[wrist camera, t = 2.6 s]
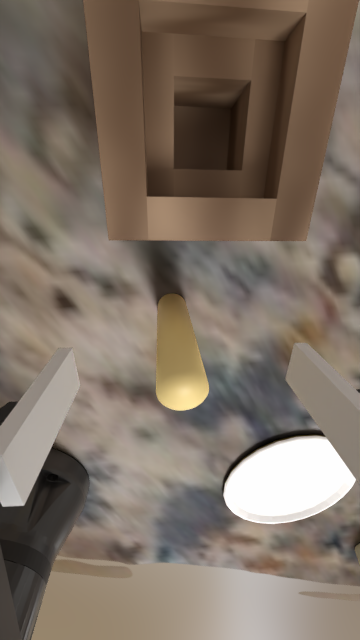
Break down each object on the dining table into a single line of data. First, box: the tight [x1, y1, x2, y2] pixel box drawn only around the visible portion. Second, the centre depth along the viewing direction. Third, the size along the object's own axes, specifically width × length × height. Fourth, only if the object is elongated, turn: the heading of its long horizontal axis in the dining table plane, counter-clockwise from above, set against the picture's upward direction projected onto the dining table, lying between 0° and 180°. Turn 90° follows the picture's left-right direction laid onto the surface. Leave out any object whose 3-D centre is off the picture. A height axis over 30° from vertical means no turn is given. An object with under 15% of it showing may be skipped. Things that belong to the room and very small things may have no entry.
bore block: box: [83, 0, 359, 241], centre depth 15 cm, size 12×12×7 cm
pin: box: [156, 293, 209, 410], centre depth 18 cm, size 3×3×12 cm
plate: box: [223, 435, 356, 524], centre depth 37 cm, size 21×21×1 cm
